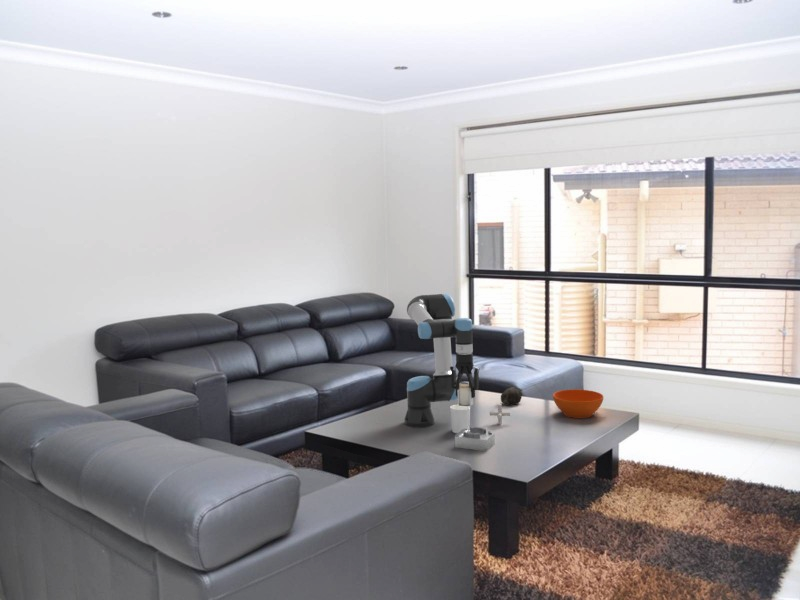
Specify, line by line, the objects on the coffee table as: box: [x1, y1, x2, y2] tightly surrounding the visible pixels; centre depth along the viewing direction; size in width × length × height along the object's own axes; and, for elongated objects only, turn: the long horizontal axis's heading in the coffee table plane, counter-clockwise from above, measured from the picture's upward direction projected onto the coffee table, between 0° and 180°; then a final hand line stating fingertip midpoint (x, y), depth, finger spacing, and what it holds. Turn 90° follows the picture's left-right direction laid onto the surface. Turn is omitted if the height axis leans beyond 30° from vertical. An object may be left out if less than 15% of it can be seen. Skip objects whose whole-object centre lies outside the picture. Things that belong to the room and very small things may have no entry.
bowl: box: [552, 388, 604, 419], centre depth 371 cm, size 25×25×10 cm
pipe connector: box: [489, 403, 511, 425], centre depth 359 cm, size 10×10×10 cm
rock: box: [500, 386, 523, 406], centre depth 395 cm, size 10×11×10 cm
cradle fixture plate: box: [454, 426, 496, 452], centre depth 327 cm, size 15×11×7 cm
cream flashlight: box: [459, 380, 471, 407], centre depth 324 cm, size 5×5×10 cm
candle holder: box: [449, 403, 471, 434], centre depth 349 cm, size 10×10×12 cm
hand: (465, 404), depth 325 cm, fingers closed on cream flashlight, 5 cm apart
